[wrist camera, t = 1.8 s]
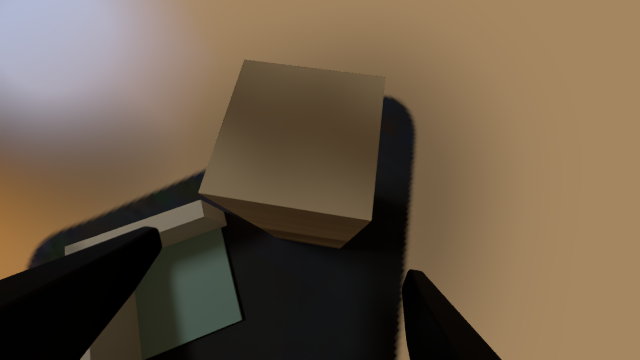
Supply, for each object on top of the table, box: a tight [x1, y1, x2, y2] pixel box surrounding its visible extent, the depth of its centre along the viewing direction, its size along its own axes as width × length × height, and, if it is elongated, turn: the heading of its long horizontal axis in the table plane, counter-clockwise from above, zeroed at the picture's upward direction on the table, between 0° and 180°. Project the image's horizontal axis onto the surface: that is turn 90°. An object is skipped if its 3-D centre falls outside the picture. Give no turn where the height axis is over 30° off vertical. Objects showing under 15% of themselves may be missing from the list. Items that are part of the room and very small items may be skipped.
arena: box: [65, 200, 242, 360], centre depth 16 cm, size 13×9×4 cm
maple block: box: [198, 60, 385, 249], centre depth 14 cm, size 5×5×13 cm
